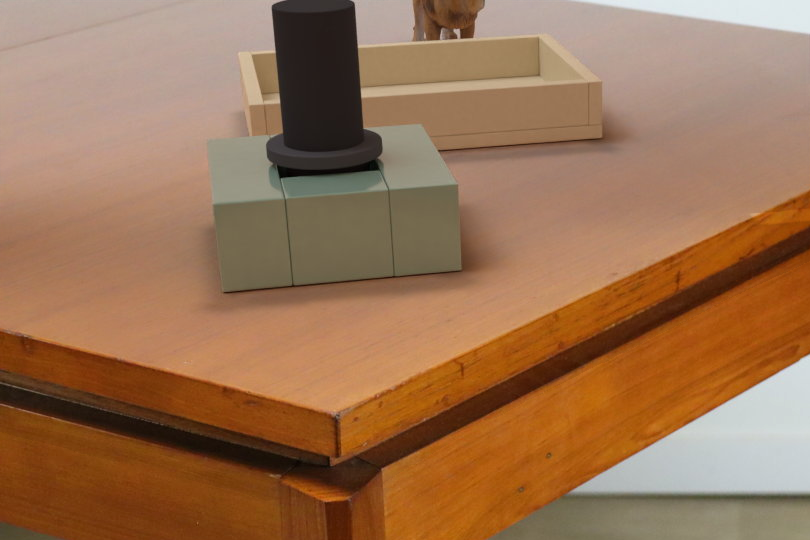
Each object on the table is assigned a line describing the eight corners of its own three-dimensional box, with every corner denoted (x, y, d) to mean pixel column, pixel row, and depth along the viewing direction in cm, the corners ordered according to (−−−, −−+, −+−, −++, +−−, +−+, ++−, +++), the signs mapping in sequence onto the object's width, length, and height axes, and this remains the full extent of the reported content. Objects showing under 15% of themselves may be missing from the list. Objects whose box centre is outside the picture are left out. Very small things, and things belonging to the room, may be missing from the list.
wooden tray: (254, 164, 83) (248, 104, 81) (243, 104, 95) (237, 52, 93) (602, 138, 87) (602, 81, 85) (549, 84, 99) (548, 33, 97)
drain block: (222, 292, 65) (212, 203, 63) (214, 218, 74) (205, 139, 72) (462, 270, 67) (458, 183, 65) (425, 201, 76) (421, 123, 75)
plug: (279, 267, 68) (255, 19, 63) (272, 230, 72) (249, -3, 68) (395, 256, 69) (380, 11, 64) (380, 221, 73) (365, -10, 69)
